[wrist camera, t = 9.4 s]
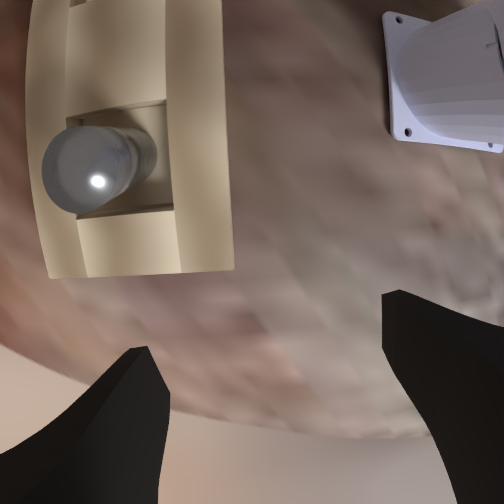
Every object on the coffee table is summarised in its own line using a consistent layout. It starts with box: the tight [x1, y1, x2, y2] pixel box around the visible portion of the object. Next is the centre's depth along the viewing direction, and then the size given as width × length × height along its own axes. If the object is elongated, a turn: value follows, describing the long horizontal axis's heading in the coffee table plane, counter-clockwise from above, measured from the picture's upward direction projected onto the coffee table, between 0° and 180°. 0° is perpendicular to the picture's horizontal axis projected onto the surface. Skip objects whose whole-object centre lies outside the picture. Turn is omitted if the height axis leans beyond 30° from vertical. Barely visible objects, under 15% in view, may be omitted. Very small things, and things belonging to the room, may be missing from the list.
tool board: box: [25, 0, 234, 279], centre depth 13 cm, size 10×22×3 cm, turn 2°
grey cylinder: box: [42, 126, 157, 214], centre depth 12 cm, size 3×3×6 cm
